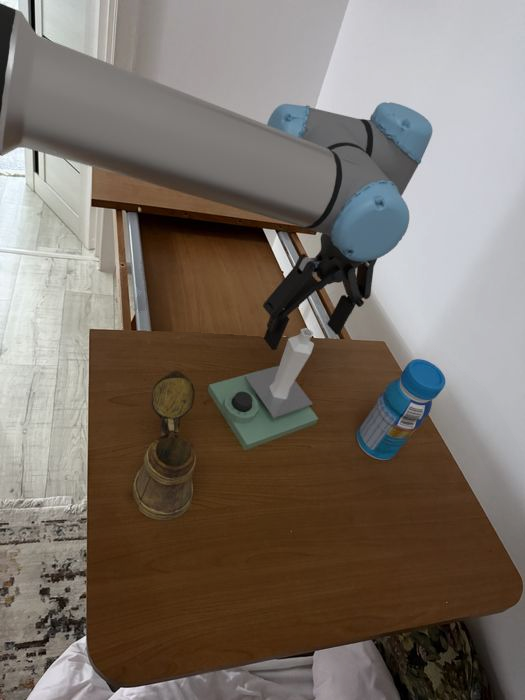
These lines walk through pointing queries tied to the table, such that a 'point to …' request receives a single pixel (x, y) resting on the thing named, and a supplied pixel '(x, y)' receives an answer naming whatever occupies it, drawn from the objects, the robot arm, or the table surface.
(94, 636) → the table surface
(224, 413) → the scale
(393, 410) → the beverage bottle
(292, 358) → the white faceted vase
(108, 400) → the table surface
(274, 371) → the scale plate
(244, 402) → the tare button
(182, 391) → the wooden mug
